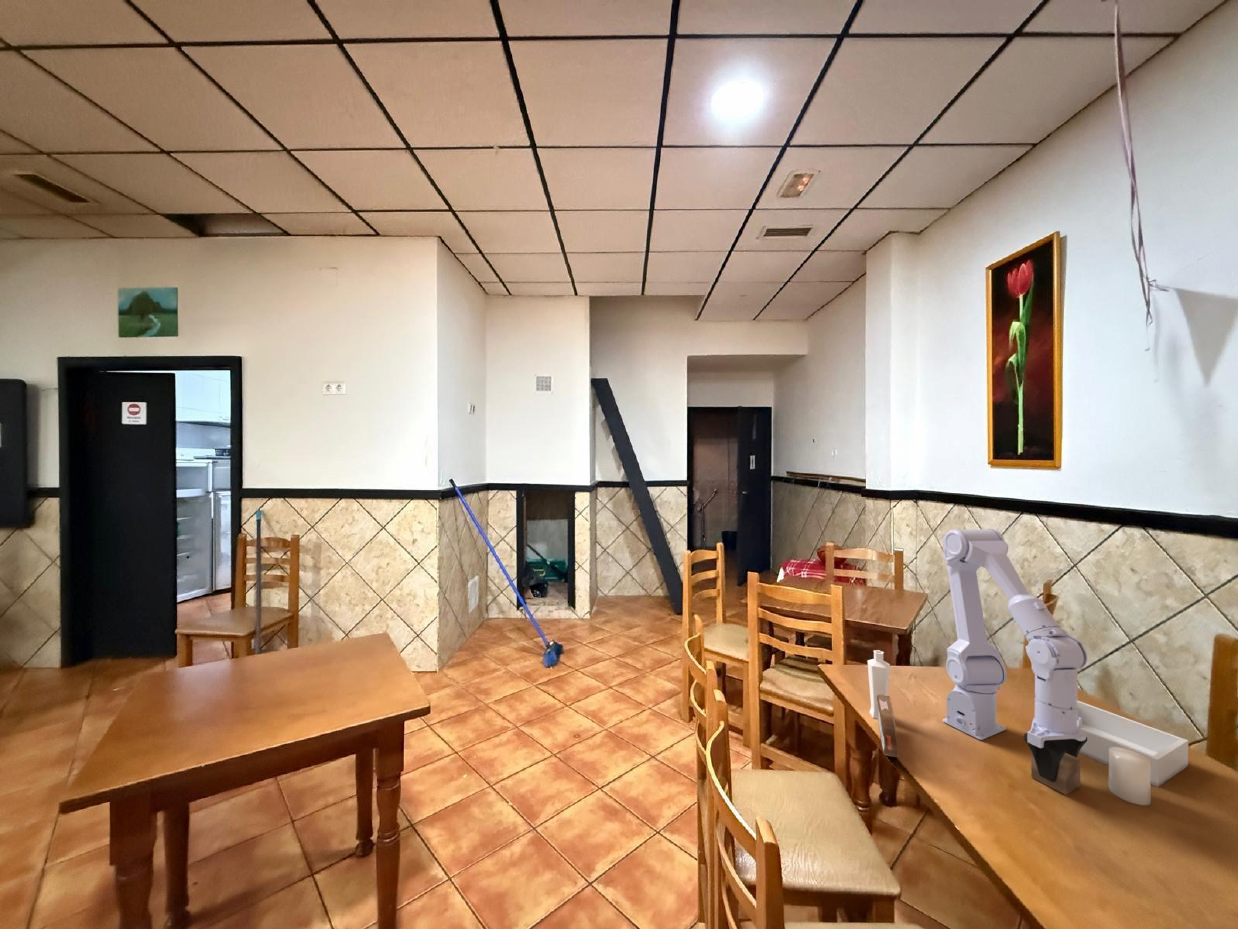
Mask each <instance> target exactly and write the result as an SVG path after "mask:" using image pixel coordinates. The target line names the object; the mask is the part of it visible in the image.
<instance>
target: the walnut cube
mask: <svg viewBox="0 0 1238 929" xmlns="http://www.w3.org/2000/svg"><path fill="white" fill-rule="evenodd" d="M1030 752H1031V753H1030V755H1031V760H1030V761H1031V766H1030V768H1031V770H1030V772H1031V778H1032V779H1034V780H1036V781H1038V782H1039V783H1042V784H1044V785H1046V786H1048V787H1049V788H1051V789H1054V790H1055V791H1057V792H1060V793H1061V794H1063V795H1065V796H1066V795H1068V794H1070V793H1072V792H1073V791H1075V790H1077V789H1079V788H1080V787H1081V759H1080V758H1078V757H1077V758H1076V757H1074V756H1072V755H1069V754H1067V753H1065V754H1064V755H1063V757H1062V759H1061V761H1060V764H1059V769H1058V775H1057V778H1056V781H1055V782H1051V781H1049V780H1047V779H1045V778H1043V777H1041V776H1040V775H1039V772H1038V769H1037V765H1036V762H1035V759H1034V756H1033V754H1032V751H1031V750H1030Z"/></svg>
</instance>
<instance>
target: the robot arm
mask: <svg viewBox="0 0 1238 929" xmlns="http://www.w3.org/2000/svg"><path fill="white" fill-rule="evenodd" d="M941 542H942V547H943V548H942V549H943V554H944V561H945V562H944V563H945V564H946V569H947V575H948V581H949V588H950V595H951V604H952V609H953V615H954V622H955V629H956V635H957V636H956V637H957V640H956V641H955V642H954V643H952V644H951V645H950V646H949V647H947V649H946V652H947V658H946V663H945V665H946V666H945V667H946V672H947V674H948V676H949V678H950V679H951V681H952V682H953V683H954V684H955V685H954V687H953V689H952V690H951V691H950V692H949V693H948V694H947V695H946V717H945V718H943V719H942V722H943V723H945V724H947V725H949V726H951V727H953V728H955V729H957V730H959V731H961V732H963V733H965V734H967V735H969V736H971V737H974V738H976V739H977V740H980V741H983V740H986V739H987V738H989V737H992V736H995V735H997V734H998V733H1001V732H1004V731H1006V730H1007V727H1005V726H1004V725H1002V724H999V723H998V722H997V691H1000V690H1001V689H1000V687H1001V686H1002V685H1004V684H1005V683H1006V682H1007V677H1008V676H1007V675H1008V674H1007V670H1006V667H1005V665H1004V663H1003V661H1002V659H1001V652H1000V651H999V650H998V649H996V648H995V647H994V646H993V645H991V644H990V643H989V642H988V637H987V632H986V625H985V619H984V613H983V607H982V600H981V593H980V589H979V588H980V587H979V582H978V576H977V571H978V570H979V569H980V568H981V567H982V568H984V569H985V570H986V571H987V572H988V573H989V575H990V576H991V577H992V579H993V580H994V581H995V582H996V584H997V586H998V587H999V588H1000V589H1001V591H1002V592H1003V593H1004V595H1005V596H1006V597H1007V599H1008V600H1009V602H1008V606H1007V610H1008V612H1009V614H1010V615H1011V617H1012V618H1013V620H1014V622H1015V623H1016V625H1017V626H1018V629H1020V631H1021V633H1022V634H1023V635H1024V637H1025V639H1026V640H1027V642H1028V644H1027V645H1025V651H1026V654H1027V657H1028V659H1029V660H1030V664H1031V670H1032V673H1033V674H1034V717H1033V718H1032V722H1031V728H1030V730H1028V731H1027V732H1026V733H1024V734H1023V738H1024V742H1025V743H1026V744H1027V746H1028V747H1029V750H1030V752H1031V751H1032V754H1033V756H1034V759H1035V762H1036V765H1037V769H1038V772H1039V775H1040V776H1041V777H1043V778H1045V779H1047V780H1049V781H1051V782H1055V781H1056V778H1057V775H1058V769H1059V764H1060V761H1061V759H1062V757H1063V755H1064V754H1065V753H1067V754H1069V755H1072V756H1074V757H1076V758H1078V757H1077V756H1078V755H1079V754H1080V753H1079V751H1080V749H1081V748H1082V746H1083V745H1084V744H1085V743H1086V742H1087V737H1086V735H1085V734H1083V733H1080V732H1079V729H1081V728H1082V718H1080V717H1078V716H1077V700H1078V670H1079V669H1081V668H1084V667H1085V666H1086V665H1087V662H1088V654H1087V651H1086V649H1085V647H1084V645H1083V643H1082V642H1081V641H1080V640H1079V639H1078V638H1076V637H1075V636H1073V635H1071V634H1070V633H1069V632H1067V630H1065V629H1062V628H1061V626H1060V625H1059V624H1058V622H1057V620H1056V619H1055V618H1054V616H1053V614H1052V613H1051V612H1050V611H1049V609H1048V606H1047V605H1046V604H1045V603H1044V602H1043V601H1042V599H1041V598H1039V597H1036V596H1033V595H1031V594H1030V593H1029V591H1028V590H1027V588H1026V586H1025V584H1024V583H1023V581H1022V579H1021V578H1020V576H1019V574H1018V572H1017V570H1016V569H1015V567H1014V565H1013V563H1012V561H1011V560H1010V558H1009V556H1008V552H1009V544H1008V543H1007V541H1005V538H1004V537H1003V535H1002V534H1001V532H999V530H997V529H994V528H987V529H957V528H956V529H955V528H954V529H950V530H948V531H947V533H946V534H945V535H944V537H942V539H941Z"/></svg>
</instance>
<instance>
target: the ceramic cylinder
mask: <svg viewBox="0 0 1238 929" xmlns="http://www.w3.org/2000/svg"><path fill="white" fill-rule="evenodd" d="M1151 785H1152V784H1151V762H1150V760H1149V759H1148V758H1146V757H1145V756H1143V755H1141V754H1139V753H1137V752H1134V751H1132V750H1129V749H1125V748H1120V747H1111V748H1109V766H1108V789H1109V791H1110V792H1111V794H1113V795H1115V796H1116V797H1118V798H1120V799H1122V800H1124V801H1126V802H1129V803H1132V804H1136V805H1139V806H1149V805H1151V803H1152V802H1151V800H1152V799H1151V798H1152V797H1151V796H1152V795H1151V790H1152V789H1151V788H1152V786H1151Z"/></svg>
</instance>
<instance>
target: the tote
mask: <svg viewBox="0 0 1238 929" xmlns="http://www.w3.org/2000/svg"><path fill="white" fill-rule="evenodd" d="M1077 716H1078V717H1080V718H1082V728H1081V729H1079V732H1080V733H1083V734H1085V735H1086V737H1087V742H1086V743H1085V744H1084V745H1083V746H1082V748H1081V749H1080V751H1079V753H1078V754H1080V755H1081V754H1082V755H1083V756H1085V757H1088V758H1090V759H1093V760H1095V761H1098V762H1099V763H1102V764H1104V765H1106V766H1108V767H1109V748H1111V747H1120V748H1125V749H1129V750H1132V751H1134V752H1137V753H1139V754H1141V755H1143V756H1145V757H1146V758H1148V759H1149V760H1150V762H1151V785H1152V786H1154V787H1157V788H1159V787H1160V786H1161V785H1163V784H1165V783H1166V782H1167V781H1168V780H1170V779H1171V778H1173V777H1174V776H1176V775H1177V774H1179V773H1180V772H1181V771H1183V770H1184V769H1186V768H1188V766H1189V740H1188V739H1186V738H1182V737H1179V736H1177V735H1174V734H1171V733H1168V732H1167V731H1164V730H1160V729H1157V728H1156V727H1152V726H1149V725H1148V724H1143V723H1141V722H1139V721H1136V720H1132V719H1130V718H1127V717H1124V716H1121V715H1119V714H1116V713H1113V712H1111V711H1108V710H1105V709H1102V708H1100V707H1097V706H1094V705H1091V704H1089V703H1086V702H1083V701H1080V700H1078V699H1077Z"/></svg>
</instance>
